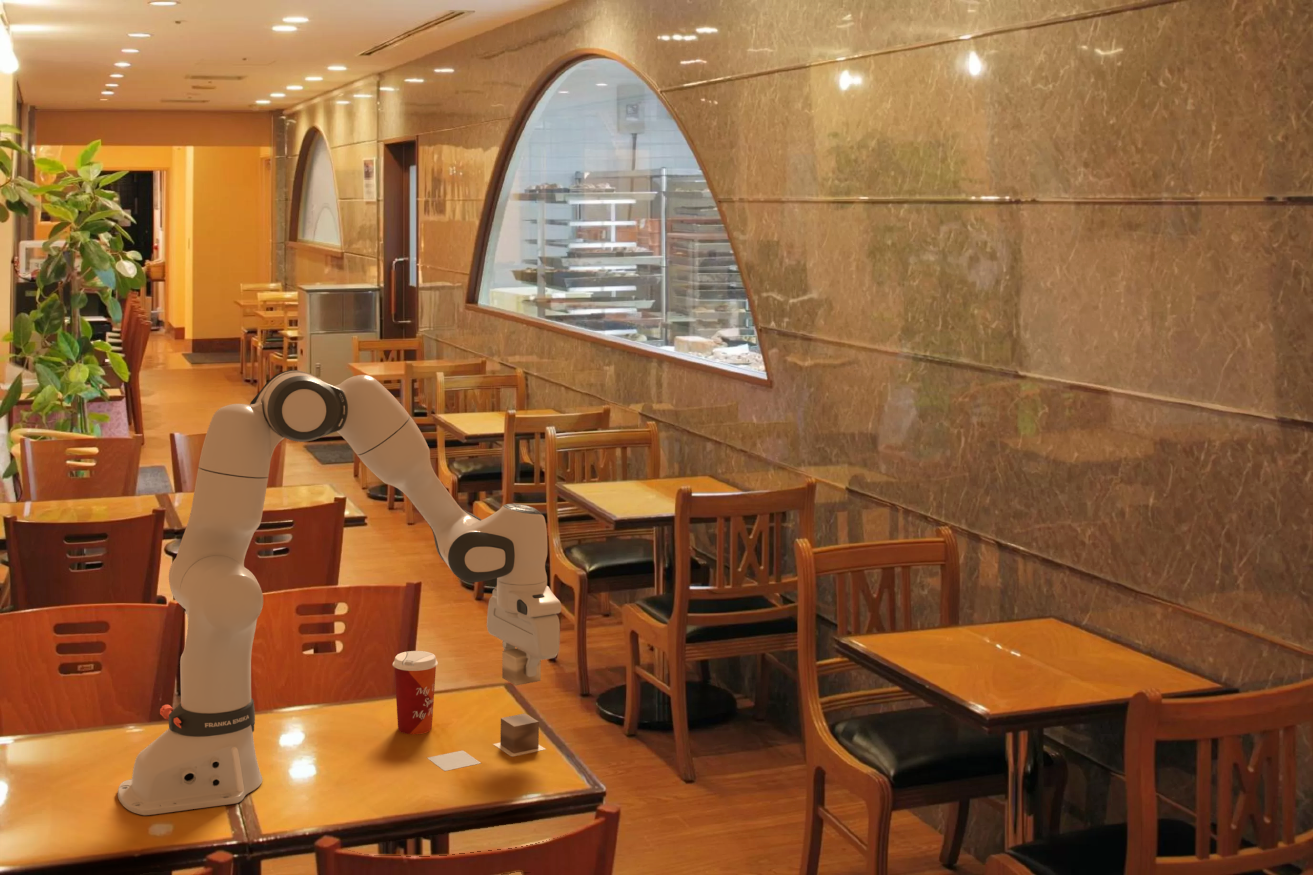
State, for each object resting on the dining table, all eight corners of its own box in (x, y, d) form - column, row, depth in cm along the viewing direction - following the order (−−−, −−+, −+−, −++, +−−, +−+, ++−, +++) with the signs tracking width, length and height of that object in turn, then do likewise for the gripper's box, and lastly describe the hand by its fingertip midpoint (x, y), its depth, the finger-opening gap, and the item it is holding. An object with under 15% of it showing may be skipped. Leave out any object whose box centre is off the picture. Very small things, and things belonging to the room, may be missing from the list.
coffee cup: (427, 744, 245) (428, 664, 243) (385, 739, 246) (385, 660, 244) (444, 728, 253) (444, 651, 251) (402, 724, 254) (403, 647, 252)
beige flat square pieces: (451, 785, 226) (451, 778, 226) (415, 758, 238) (415, 751, 238) (563, 760, 239) (563, 753, 239) (524, 735, 250) (524, 729, 250)
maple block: (515, 685, 237) (516, 658, 236) (502, 677, 241) (502, 650, 240) (540, 680, 239) (540, 653, 239) (526, 673, 244) (526, 646, 243)
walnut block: (513, 753, 238) (514, 726, 238) (500, 744, 242) (500, 718, 242) (538, 748, 241) (538, 721, 240) (524, 739, 245) (525, 713, 244)
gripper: (478, 584, 244) (478, 657, 246) (534, 610, 228) (533, 689, 230) (509, 580, 248) (508, 652, 250) (566, 605, 232) (565, 683, 233)
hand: (521, 670), depth 240 cm, fingers closed on maple block, 5 cm apart
